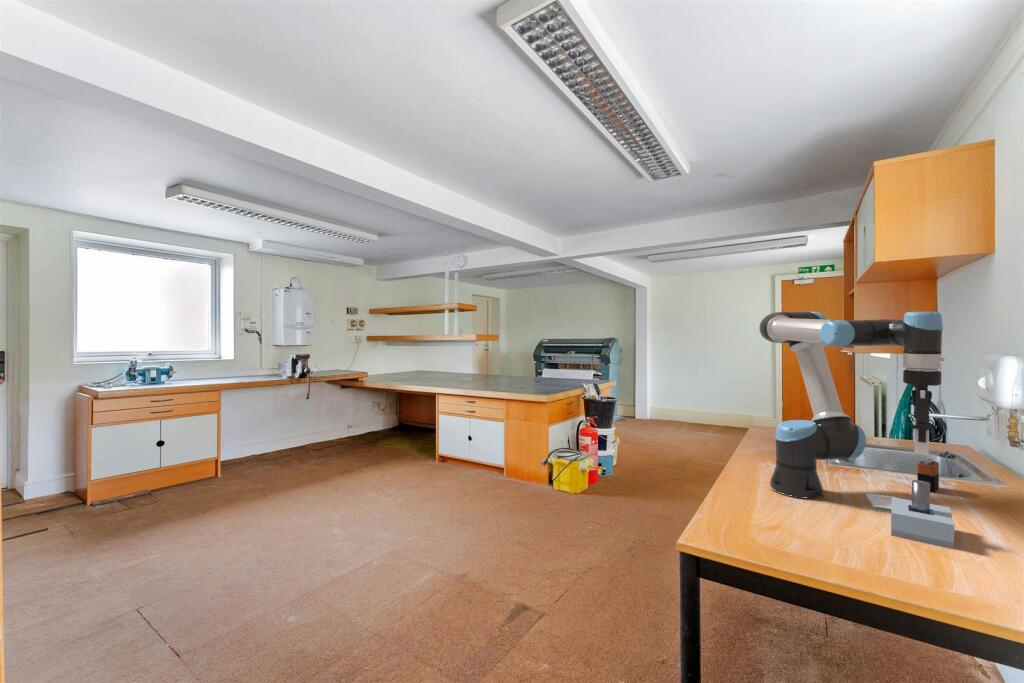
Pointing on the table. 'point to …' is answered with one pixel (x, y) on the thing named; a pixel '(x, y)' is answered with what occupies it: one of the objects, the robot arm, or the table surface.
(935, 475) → the battery
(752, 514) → the table surface
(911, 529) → the socket block
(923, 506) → the pin
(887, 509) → the external hard drive
